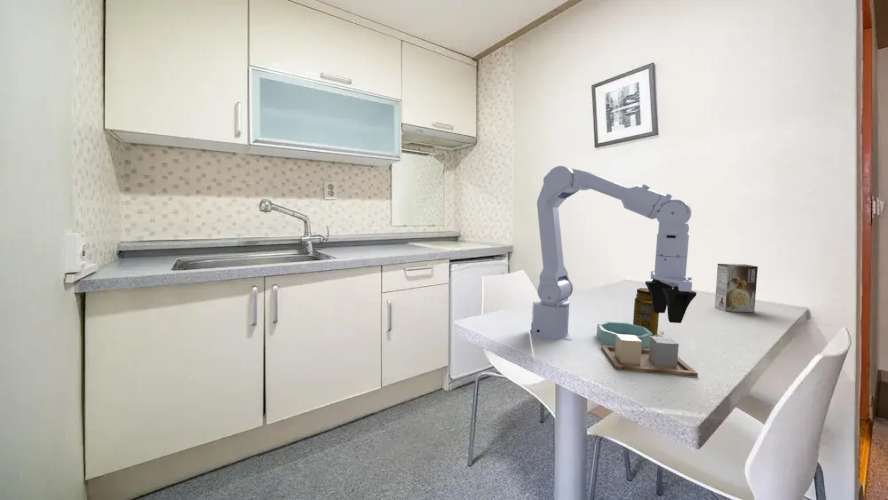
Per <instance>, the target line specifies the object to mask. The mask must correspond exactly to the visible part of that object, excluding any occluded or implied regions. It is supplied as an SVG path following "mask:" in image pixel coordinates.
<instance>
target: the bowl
mask: <svg viewBox="0 0 888 500" xmlns="http://www.w3.org/2000/svg"><path fill="white" fill-rule="evenodd" d="M596 325H597V328H596V336H597V338H598V339H599V341H600V342H601V343H604V344H607V345H608V346H615V344H616V334H625V335H636V336H637V337H638V338H639V339H640V340H641V341H642V348H644V349H648V348H649V344H650V336H653V335H654V334H653V333H651V332H650V331H649V330H648V329H646V328H645V327H641V326H637V325H634V324H633V323H630V322H620V321H619V322H618V321H605V322H601V323H597V324H596Z"/></svg>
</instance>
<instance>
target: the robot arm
mask: <svg viewBox="0 0 888 500" xmlns="http://www.w3.org/2000/svg"><path fill="white" fill-rule="evenodd" d="M588 190H593V191H595V192H599V193H601V194H604V195H607V196H609V197H610V198H611V197H612V198H614V199H616V200H619V201H621V203H622V206H623V208H624V209H626V210H628V211H631V212H633V213H636V214H638V215H641V216H643V217H645V218H648V219H649V220H654V219H656V220H657V222H658V229H657V230H658V232H657V233H656V246H655V259H654V270H650V279H651V280H645V283H644V284H645V286H646V288H648V290H649V293H650V296H651V300H652V306H653V311H654V312H655V313H659V314H665V313H666V311H667V319H668V322H669V323H674V324H682V321H683V320H684V317H685V314H686V311H687V309H688V307H689V306H690V304H691V303H692V301H693V300H694V299H695V297H696V296H697V292H696V291H694V290H692V287H693V282H692V280H693V279H692V276H689V275H687V267H688V266H687V264H688V263H687V262H688V253H689V251H688V250H689V239H690V235H689V234H688V233H689V232H690V226H689V223H688V222H689V221H690V219H691V217H692V209H691V207H690V206H689V204H688V203H687V202H684V201H683V200H681V199H672V197H673V194H669V193H666V194H664V193H660V192H657V191H655V190H653V189H650V185H647V184H644V183H643V184H642V186H641V185H639V184H636V185H634V186H633V185H632V186H630V187H626V186H624V185H622V184H619V183H616V182H615V181H612V180H609V179H607V178H604V177H602V176H599V175H597V174H594V173H592V172H589V171H586V170H585V171H584V170H580V169H575V168H569V167H567V166H563V165H558V166H555V167H553V168H551V169H550V171H549V172H548V173H547V174H546V175H545V176H544V177H543V184H542V187H541V190H540V192H539V195H538V198H537V200H536V207H537V217H538V219H537V220H538V227H539V238H540V249H541V260H542V270H541V272H540V275H539V283H538V286H537V296H538V298H539V300H540V301H537V302H536V301H534V302H532V311H531V314H532V318H531V324H530V330H531V332H532V337H533V338H536V339H547V340H560V341H561V340H562V341H572V337H571V336H570V333H569V322H570V321H569V316H570V300H569V298H570V296H571V295H572V294H573V291H574V286H573V283H572V281H571V280H570V278H569V272H568V271H567V269H566V267H565V264H564V255H563V254H564V252H563V244H562V234H561V233H562V232H561V224H560V223H561V222H560V214H559V213H560V212H559V208H560V206H561V205H562V204H563V203H564V201H566V200H567V198H570V197H571V196H573V195H575V194H576V193H578V192H579V191H588Z"/></svg>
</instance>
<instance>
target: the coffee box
mask: <svg viewBox="0 0 888 500" xmlns="http://www.w3.org/2000/svg"><path fill="white" fill-rule="evenodd" d="M716 268H717V271H716V286H715V296H714V307H715V308H717V309H719V310H722V311H724V312H736V313H737V312H739V313H755V305H756V296H757V295H756V293H757V282H758V270H759V267H758V265H753V264H752V265H751V264H746V263H745V264H743V263H717V267H716Z"/></svg>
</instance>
